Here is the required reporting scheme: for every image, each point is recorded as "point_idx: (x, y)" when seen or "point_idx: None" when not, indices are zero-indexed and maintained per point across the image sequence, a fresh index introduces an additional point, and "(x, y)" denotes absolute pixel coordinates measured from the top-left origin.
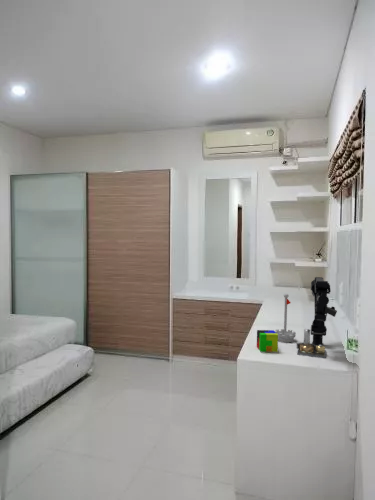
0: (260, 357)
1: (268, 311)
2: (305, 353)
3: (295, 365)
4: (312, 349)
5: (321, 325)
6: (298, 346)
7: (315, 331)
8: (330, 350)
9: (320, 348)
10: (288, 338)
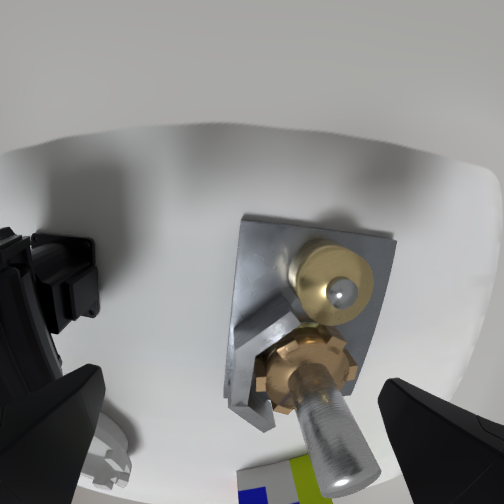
0: (388, 460)
1: None
2: (359, 359)
3: (467, 360)
4: (340, 335)
5: (473, 429)
6: (269, 410)
7: (55, 357)
8: (179, 180)
9: (368, 287)
10: (116, 441)
